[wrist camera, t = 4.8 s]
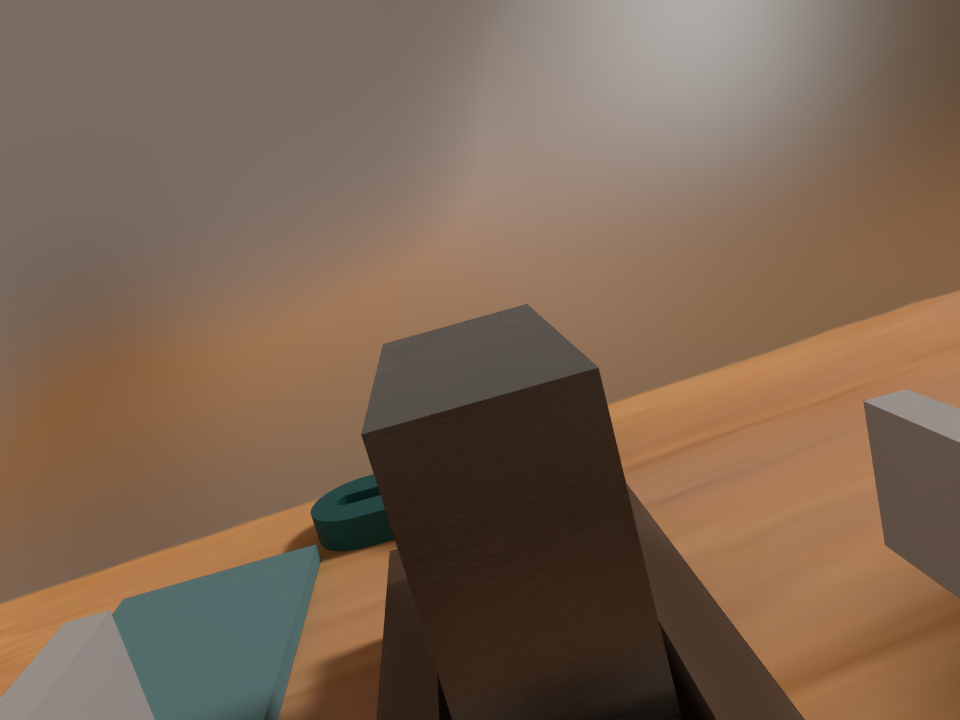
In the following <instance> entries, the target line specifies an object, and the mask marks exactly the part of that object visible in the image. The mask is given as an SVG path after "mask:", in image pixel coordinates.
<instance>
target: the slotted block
mask: <svg viewBox="0 0 960 720" xmlns="http://www.w3.org/2000/svg"><path fill="white" fill-rule="evenodd" d="M626 486H627V490H628V494H629V498H630V502H631V507H632V511H633V515H634V519H635V523H636V528H637V532H638V536H639V540H640V544H641V549H642V553H643V557H644V561H645V565H646V570H647V574H648V578H649V582H650V587H651V591H652V595H653V599H654V603H655V608H656V612H657V616H658V620H659V624H660V629H661V633H662V637H663V641H664V645H665V650H666V654H667V658H668V662H669V666H670V671H671V675H672V679H673V683H674V688H675V692H676V696H677V700H678V704H679V709H680V713H681V717H682V720H805V719H804V718H803V717H802V715H801V714H800V713H799V711H798V710H797V709H796V707H795V706H794V705H793V703H792V702H791V701H790V699H789V698H788V697H787V695H786V694H785V693H784V691H783V690H782V689H781V687H780V686H779V685H778V684H777V682H776V681H775V680H774V678H773V677H772V676H771V674H770V673H769V672H768V670H767V669H766V668H765V666H764V665H763V664H762V662H761V661H760V660H759V658H758V657H757V656H756V654H755V653H754V652H753V650H752V649H751V648H750V646H749V645H748V644H747V642H746V641H745V640H744V638H743V637H742V636H741V634H740V633H739V632H738V630H737V629H736V628H735V627H734V625H733V624H732V623H731V621H730V620H729V619H728V617H727V616H726V615H725V613H724V612H723V611H722V609H721V608H720V607H719V605H718V604H717V603H716V601H715V600H714V599H713V597H712V596H711V595H710V593H709V592H708V591H707V589H706V588H705V587H704V585H703V584H702V583H701V581H700V580H699V579H698V577H697V576H696V575H695V573H694V572H693V571H692V570H691V568H690V567H689V566H688V564H687V563H686V562H685V560H684V559H683V558H682V556H681V555H680V554H679V552H678V551H677V550H676V548H675V547H674V546H673V544H672V543H671V542H670V540H669V539H668V538H667V536H666V535H665V534H664V532H663V531H662V530H661V528H660V527H659V526H658V524H657V523H656V522H655V520H654V519H653V518H652V516H651V515H650V514H649V512H648V511H647V510H646V509H645V507H644V506H643V505H642V503H641V502H640V501H639V499H638V498H637V497H636V495H635V494H634V493H633V491H632V490H631V489H630V487H629V486H628V485H627V483H626ZM377 720H452V718H451V714H450V711H449V708H448V705H447V702H446V699H445V696H444V692H443V689H442V686H441V683H440V680H439V677H438V674H437V670H436V667H435V664H434V661H433V658H432V655H431V652H430V649H429V645H428V642H427V639H426V636H425V633H424V630H423V627H422V623H421V620H420V617H419V614H418V611H417V608H416V605H415V601H414V598H413V595H412V592H411V589H410V586H409V583H408V580H407V576H406V573H405V570H404V567H403V564H402V561H401V558H400V554H399V551H398V549H396V550H392V551H390V555H389V568H388V581H387V594H386V607H385V620H384V632H383V645H382V658H381V671H380V684H379V697H378V710H377Z"/></svg>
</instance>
